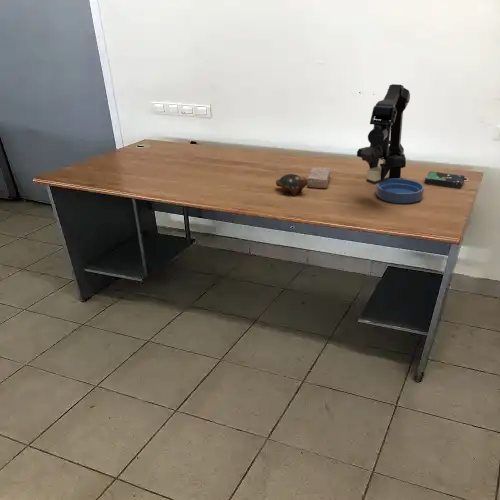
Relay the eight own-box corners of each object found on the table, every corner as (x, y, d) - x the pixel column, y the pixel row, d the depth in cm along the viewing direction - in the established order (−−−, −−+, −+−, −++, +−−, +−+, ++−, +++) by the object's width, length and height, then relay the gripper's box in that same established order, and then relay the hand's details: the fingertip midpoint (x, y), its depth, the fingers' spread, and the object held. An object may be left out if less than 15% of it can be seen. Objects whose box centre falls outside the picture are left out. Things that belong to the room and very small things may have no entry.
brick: (311, 176, 230) (312, 166, 228) (330, 177, 229) (330, 167, 226) (307, 188, 216) (307, 178, 214) (326, 189, 214) (327, 179, 212)
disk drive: (463, 181, 220) (428, 176, 226) (464, 175, 219) (429, 170, 225) (460, 189, 212) (424, 183, 218) (461, 182, 210) (425, 177, 217)
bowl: (367, 191, 211) (368, 181, 209) (405, 186, 216) (406, 176, 214) (391, 207, 195) (393, 196, 193) (431, 200, 200) (433, 190, 198)
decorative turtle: (303, 199, 205) (301, 180, 201) (271, 195, 213) (269, 177, 209) (313, 190, 212) (312, 172, 208) (282, 187, 220) (280, 169, 216)
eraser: (374, 184, 191) (375, 172, 188) (366, 181, 194) (367, 169, 191) (388, 180, 195) (389, 167, 192) (380, 177, 198) (381, 165, 195)
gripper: (347, 136, 189) (345, 176, 197) (386, 147, 176) (381, 189, 183) (368, 132, 195) (365, 170, 202) (407, 142, 181) (402, 183, 189)
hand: (377, 178), depth 194 cm, fingers closed on eraser, 4 cm apart
